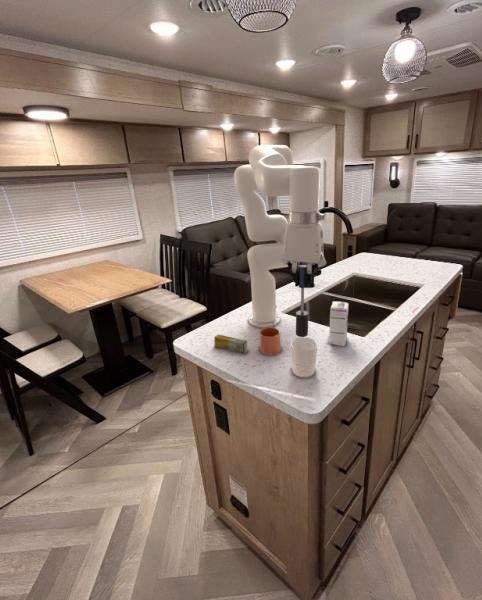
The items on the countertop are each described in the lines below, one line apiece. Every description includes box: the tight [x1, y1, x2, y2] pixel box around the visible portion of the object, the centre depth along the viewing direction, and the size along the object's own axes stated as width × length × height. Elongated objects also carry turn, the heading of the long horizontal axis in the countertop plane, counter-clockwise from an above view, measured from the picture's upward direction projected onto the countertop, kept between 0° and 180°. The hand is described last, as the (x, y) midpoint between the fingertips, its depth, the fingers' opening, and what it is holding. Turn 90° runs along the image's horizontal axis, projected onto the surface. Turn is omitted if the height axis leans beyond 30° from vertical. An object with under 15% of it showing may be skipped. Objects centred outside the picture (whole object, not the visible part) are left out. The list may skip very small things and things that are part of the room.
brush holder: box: [258, 326, 282, 356], centre depth 109 cm, size 7×7×7 cm
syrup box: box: [328, 301, 350, 347], centre depth 112 cm, size 6×6×14 cm
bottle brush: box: [295, 264, 309, 338], centre depth 91 cm, size 4×4×21 cm
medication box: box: [214, 334, 249, 354], centre depth 111 cm, size 12×3×4 cm, turn 67°
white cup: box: [290, 336, 319, 378], centre depth 97 cm, size 8×8×10 cm
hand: (302, 285), depth 89 cm, fingers closed on bottle brush, 2 cm apart
